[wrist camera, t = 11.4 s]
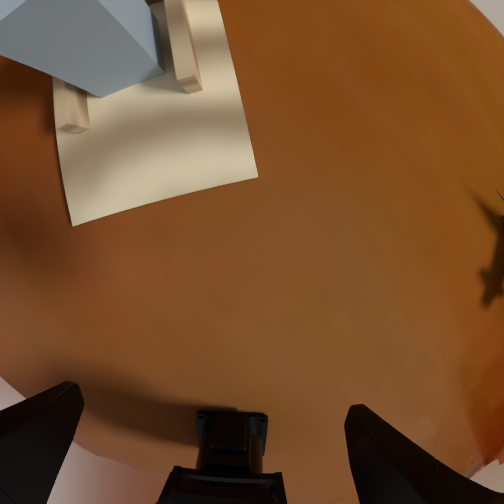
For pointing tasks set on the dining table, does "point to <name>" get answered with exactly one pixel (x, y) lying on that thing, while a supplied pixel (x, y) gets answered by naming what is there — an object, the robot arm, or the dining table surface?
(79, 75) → the blue-grey rectangular block
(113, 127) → the jig
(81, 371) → the dining table surface
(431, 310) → the dining table surface
